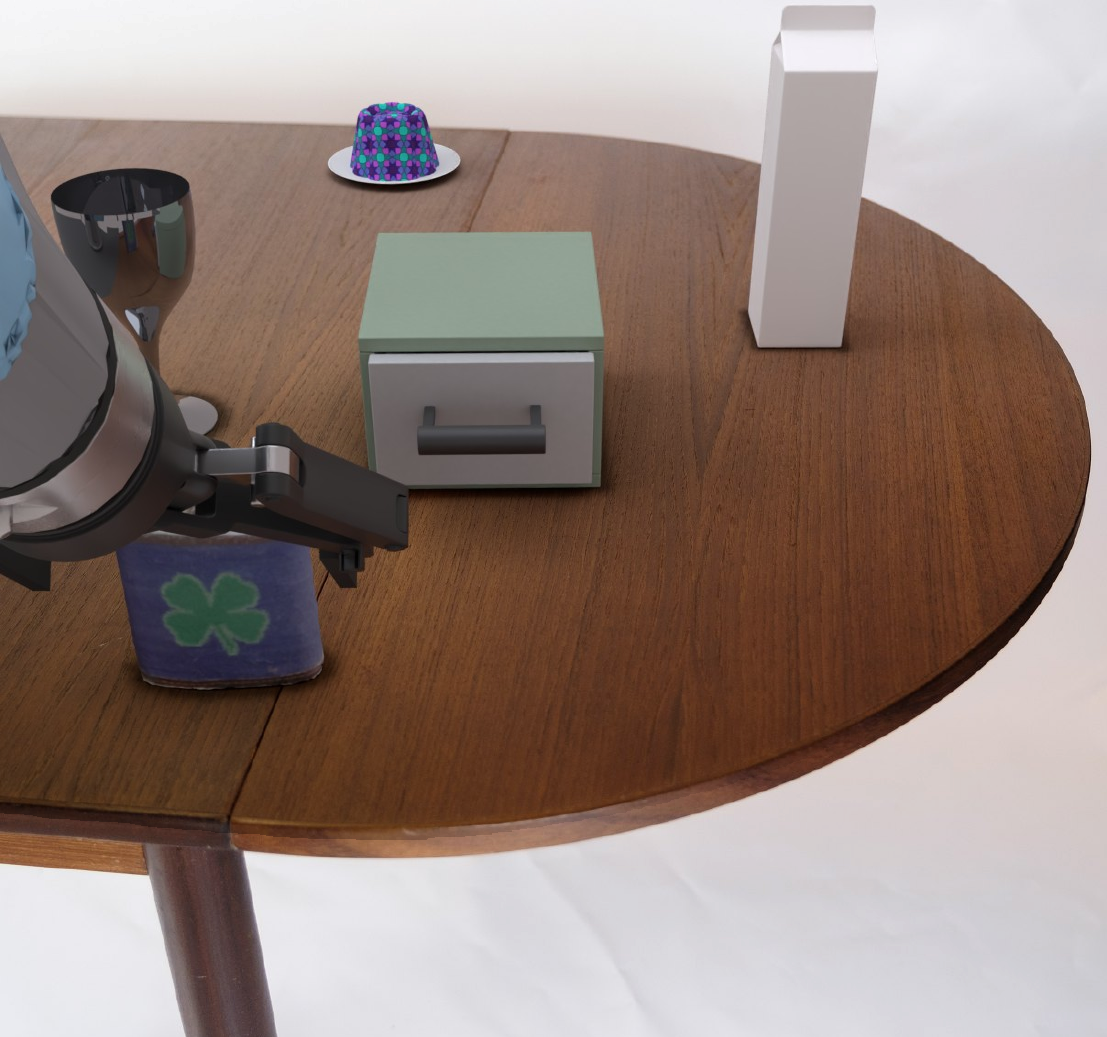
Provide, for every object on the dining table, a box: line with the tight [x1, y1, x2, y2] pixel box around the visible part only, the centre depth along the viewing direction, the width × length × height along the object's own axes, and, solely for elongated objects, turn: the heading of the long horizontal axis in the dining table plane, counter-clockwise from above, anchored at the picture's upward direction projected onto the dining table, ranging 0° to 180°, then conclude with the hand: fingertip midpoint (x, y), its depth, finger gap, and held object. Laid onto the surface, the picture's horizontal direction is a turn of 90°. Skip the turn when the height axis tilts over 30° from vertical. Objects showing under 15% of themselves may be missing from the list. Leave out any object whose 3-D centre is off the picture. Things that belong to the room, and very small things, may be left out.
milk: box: [747, 4, 879, 348], centre depth 98 cm, size 6×6×22 cm
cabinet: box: [357, 231, 605, 490], centre depth 90 cm, size 16×14×10 cm
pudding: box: [327, 101, 461, 185], centre depth 130 cm, size 12×12×5 cm
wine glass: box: [50, 167, 219, 436], centre depth 89 cm, size 8×8×15 cm
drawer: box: [368, 350, 594, 485], centre depth 87 cm, size 19×13×8 cm, turn 1°
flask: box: [115, 506, 325, 691], centre depth 69 cm, size 9×3×11 cm, turn 91°
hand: (196, 560), depth 64 cm, fingers open, 13 cm apart
